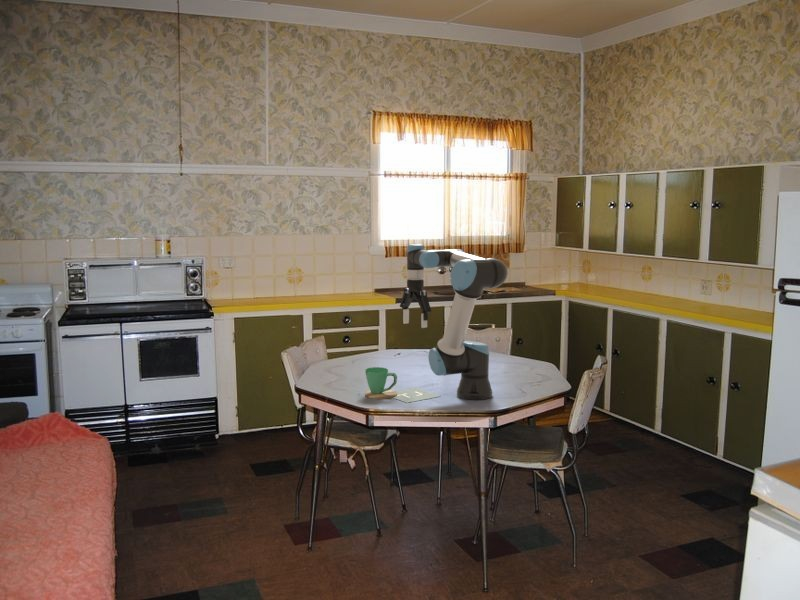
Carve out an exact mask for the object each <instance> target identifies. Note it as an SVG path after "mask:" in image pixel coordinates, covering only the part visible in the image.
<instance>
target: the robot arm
mask: <svg viewBox="0 0 800 600" xmlns="http://www.w3.org/2000/svg"><path fill="white" fill-rule="evenodd" d="M445 267H446V268H448V267H449V268H451V271H450V284H451V287H453V288H452V289H453V291H454V293H455V294H454V297H453V300H452V301H453V302H452V305H451V309H450V312H449V316H448V318H447V321H446V325H445V330H444V333H443V336H442V338H440V339H439V340H438V341H437V344H436V347H433V348H430V349H429V351H428V354H427V355H428V356H427V357H428V363H429V366H430V369H431V372H433V374H434V375H436V376H444V377H445V376H450V375H451V376H452V375H459V374H460V380H459V383H458V387H457V389H456V396H457V397H458V398H461V399H465V400H471V401H472V400H474V401H476V400H477V401H479V400H480V401H481V400H487V399H490V398H492V397H493V388H492V387H491V383H490V379H489V371H490V369H489V368H490V364H489V363H490V360H489V359H490V349H489V348H490V347H489V345H488V344H486V343H483V342H478V341H472V340H465V337H466V335H467V332H468V329H469V325H470V321H471V318H472V315H473V312H474V309H475V306H476V302H477V299H480V298H481V297H482V295H483V293H484V290H485V289H496V288H498V287H500V286H501V285H503V284H504V283H505V281H506V280H507V278H508V274H509V273H508V267H507V265H506V264H505V263H504V261H502V260H501V259H497V258H492V257H489V258H484V257H480V256H476V255H473V254H469V253H466V252H465V251H464V250H463V249H457V248H454V249H428V250H427V249H425V246H424V245H423V244H419V243H418V244H416V243H415V244H414V243H413V244H408V245H407V250H406V278H407V279H406V288H404V289H403V295H402V298H401V301H400V303H399V304H400V305H399V308H402V316H403V317H402V318H403V322H402V323H403V324H404V325H405V324H409V323H410V309H409V308H410V305H411V304H412V301H413V300H415V301H416V302H417V304H418V305H419V307H420V310H421V320H420V321H421V324H420V325H421V326H420V327H421V329H425V328H428V320H429V313H431V312H432V309H431V305H430V302H429V299H428V294H427V293H428V291H427V290H423V288H424V286H425V281H424V276H425V275H424V274H425V273H424V272H425V271H424V270H425V268H426V269H434V268H445Z"/></svg>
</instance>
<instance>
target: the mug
mask: <svg viewBox="0 0 800 600" xmlns="http://www.w3.org/2000/svg"><path fill="white" fill-rule="evenodd" d="M365 376H366V381H367V385H368V389H369V391H371V393H373V394H380V393H382V392H385V391H388V390H392V388H393V387H394V386H395V385H396V384H397V382H398V375H397V374H396V372H389V369H388V368H387V367H379V366H377V367H375V366H373V367H367V368H365ZM390 376H391V377H392V378H393V382H392V384H390V386H389V387H386V388H385V386H386V383H387V378H388V377H390Z"/></svg>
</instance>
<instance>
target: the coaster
mask: <svg viewBox="0 0 800 600" xmlns="http://www.w3.org/2000/svg"><path fill="white" fill-rule="evenodd" d="M396 391H397V390H392V389H390V390H388V391H385V392H382V393H380V394H373V393H371V391H370V390H367V391H365V393H364V396H365V397H367V398H369V399H373V400H389V399H394V398H393V397H395V396H397V395H398V393H397V392H396Z"/></svg>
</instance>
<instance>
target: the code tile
mask: <svg viewBox="0 0 800 600" xmlns="http://www.w3.org/2000/svg"><path fill="white" fill-rule="evenodd" d="M395 391H396V392H397V393H398V395H397V396H395V397H393V398H392V399H395V400H397V401H400V402H402V401H403V403H405V404H409V403H413V402H420V401H426V400H429V399H434V398H435V399H436V398H440V397H441V395H439V394H435V393H433V392H430V391H427V390H423V389H421V388H417V387H410V388H409V387H408V388H404V389H398V390H395Z"/></svg>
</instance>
